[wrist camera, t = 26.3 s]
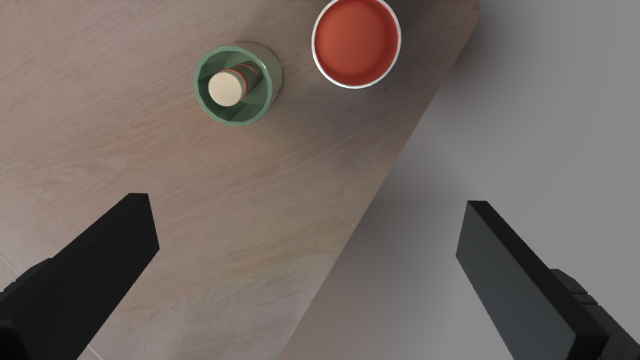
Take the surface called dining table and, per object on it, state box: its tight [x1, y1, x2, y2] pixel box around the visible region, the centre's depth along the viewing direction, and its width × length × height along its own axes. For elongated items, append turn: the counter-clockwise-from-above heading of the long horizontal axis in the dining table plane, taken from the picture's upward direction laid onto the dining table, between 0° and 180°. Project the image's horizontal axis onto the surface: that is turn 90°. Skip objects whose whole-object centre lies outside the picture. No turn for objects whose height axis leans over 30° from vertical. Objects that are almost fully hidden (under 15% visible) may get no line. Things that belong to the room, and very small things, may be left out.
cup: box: [312, 0, 401, 88], centre depth 42 cm, size 10×10×10 cm
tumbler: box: [193, 42, 283, 126], centre depth 44 cm, size 9×9×11 cm
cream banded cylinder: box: [209, 61, 262, 106], centre depth 43 cm, size 4×4×13 cm
